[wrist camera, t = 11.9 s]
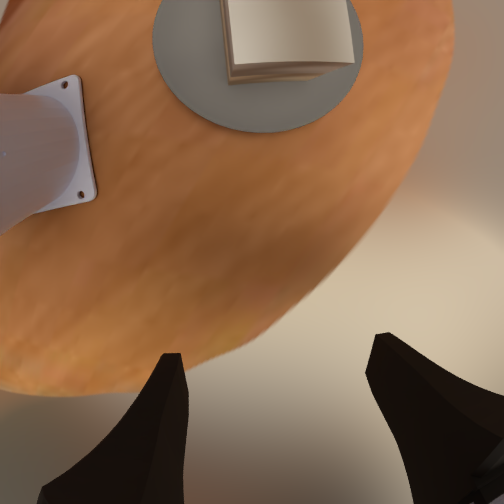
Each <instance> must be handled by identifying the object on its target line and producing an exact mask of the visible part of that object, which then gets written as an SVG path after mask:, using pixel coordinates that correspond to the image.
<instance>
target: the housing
mask: <svg viewBox="0 0 504 504" xmlns="http://www.w3.org/2000/svg"><path fill="white" fill-rule="evenodd" d="M219 1H220V11H221V21H222V31H223V41H224V51H225V61H226V71H227V80H228V85H238V84H250V83H264V82H283V81H308V80H311V79H313V78H316V77H318V76H321V75H323V74H326V73H328V72H331V71H334V70H336V69H339V68H342V67H345V66H348V65H350V64H353V63H355V62H354V53H353V45H352V37H351V30H350V23H349V17H348V10H347V4H346V0H219Z"/></svg>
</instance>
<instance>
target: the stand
mask: <svg viewBox="0 0 504 504" xmlns="http://www.w3.org/2000/svg"><path fill="white" fill-rule="evenodd" d="M346 4H347V10H348V17H349V23H350V30H351V37H352V45H353V53H354V62H355V63H353V64H350V65H348V66H345V67H342V68H339V69H336V70H334V71H331V72H328V73H326V74H323V75H321V76H318V77H316V78H313V79H311V80H308V81H283V82H264V83H250V84H238V85H228V80H227V71H226V61H225V51H224V41H223V31H222V21H221V11H220V1H219V0H162V2H161V4H160V6H159V8H158V11H157V14H156V17H155V21H154V27H153V50H154V56H155V60H156V63H157V66H158V69H159V71H160V73H161V75H162V77H163V79H164V81H165V82H166V84H167V85H168V87H169V88H170V90H171V91H172V92H173V93H174V94H175V95H176V96H177V98H178V99H179V100H180V101H181V102H182V103H184V104H185V105H186V106H187V107H188V108H190V109H191V110H192V111H194V112H195V113H197V114H199V115H200V116H202V117H203V118H205V119H207V120H209V121H212V122H214V123H216V124H218V125H221V126H224V127H227V128H231V129H235V130H240V131H245V132H256V133H271V132H279V131H287V130H290V129H294V128H298V127H301V126H304V125H306V124H309V123H311V122H313V121H315V120H317V119H319V118H321V117H322V116H324V115H325V114H327V113H328V112H329V111H331V110H332V109H333V108H335V107H336V106H337V105H338V104H339V103H340V102H341V101H342V100H343V98H344V97H345V96H346V95H347V93H348V92H349V91H350V89H351V87H352V86H353V84H354V82H355V80H356V78H357V75H358V73H359V70H360V67H361V62H362V58H363V34H362V29H361V25H360V21H359V19H358V16H357V13H356V11H355V9H354V7H353V5H352V3H351V1H350V0H346Z"/></svg>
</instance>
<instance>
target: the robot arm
mask: <svg viewBox="0 0 504 504" xmlns="http://www.w3.org/2000/svg"><path fill="white" fill-rule="evenodd" d="M65 82H68V87H67V88H66V89H64V84H65ZM80 191H83V192H84V194H85V195H84V198H82V197H81V196H80ZM96 195H97V189H96V184H95V179H94V174H93V168H92V163H91V157H90V151H89V144H88V138H87V131H86V123H85V115H84V107H83V97H82V86H81V79H80V77H79V76H77V75H70V76H67V77H64V78H61V79H59V80H56V81H53V82H51V83H48V84H45V85H43V86H40V87H38V88H35V89H33V90H30V91H28V92H26V93H23V94H0V235H2V234H3V233H5V232H6V231H8V230H9V229H10V228H12V227H13V226H15V225H16V224H18V223H19V222H21V221H22V220H24V219H26V218H27V217H29V216H30V215H32V214H35V213H39V212H43V211H47V210H52V209H56V208H60V207H65V206H69V205H74V204H79V203H83V202H88V201H91V200H93V199H94V198H95V197H96ZM365 374H366V377H367V380H368V383H369V386H370V388H371V391H372V394H373V396H374V398H375V400H376V402H377V404H378V406H379V408H380V410H381V412H382V414H383V416H384V418H385V420H386V422H387V424H388V426H389V428H390V430H391V432H392V433H393V435H394V438H395V440H396V442H397V445H398V447H399V450H400V453H401V456H402V459H403V462H404V466H405V469H406V472H407V476H408V480H409V484H410V488H411V493H412V497H413V502H414V504H504V396H503V395H499V394H496V393H493V392H491V391H488V390H485V389H483V388H480V387H478V386H476V385H473V384H471V383H469V382H467V381H465V380H463V379H461V378H459V377H457V376H455V375H454V374H452V373H450V372H448V371H447V370H445V369H443V368H442V367H440V366H439V365H437V364H435V363H434V362H432V361H431V360H429V359H428V358H426V357H425V356H423V355H422V354H420V353H419V352H417V351H416V350H415V349H413V348H412V347H410V346H409V345H408V344H406V343H405V342H403V341H402V340H400V339H399V338H397V337H396V336H394V335H393V334H391V333H389V332H387V333H382V334H376V335H375V339H374V342H373V346H372V350H371V354H370V358H369V361H368V365H367V368H366V372H365ZM188 397H189V392H188V387H187V382H186V378H185V373H184V368H183V363H182V358H181V353H164V354H163V355H162V356H161V357H160V359H159V361H158V363H157V365H156V367H155V369H154V370H153V372H152V374H151V376H150V377H149V379H148V381H147V382H146V384H145V386H144V387H143V389H142V390H141V392H140V394H139V395H138V397H137V398H136V400H135V401H134V402H133V404H132V405H131V406H130V408H129V409H128V411H127V412H126V413H125V415H124V416H123V417H122V419H121V420H120V421H119V422H118V424H117V425H116V426H115V427H114V428H113V429H112V430H111V432H110V433H109V434H108V435H107V436H106V437H105V438H104V439H103V440H102V441H101V442H100V443H99V444H98V445H97V446H96V447H95V448H94V449H93V450H92V451H91V452H90V453H89V454H88V455H86V456H85V457H84V458H83V459H81V460H80V461H79V462H78V463H76V464H75V465H74V466H73V467H72V468H70V469H69V470H68V471H66V472H65V473H63V474H62V475H61V476H59V477H57V478H56V479H54V480H53V481H51V482H50V483H48V484H46V485H44V486H43V487H42V489H41V492H40V494H39V497H38V500H37V504H184V493H183V466H184V456H185V445H186V436H187V427H188V417H189V399H188Z"/></svg>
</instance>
